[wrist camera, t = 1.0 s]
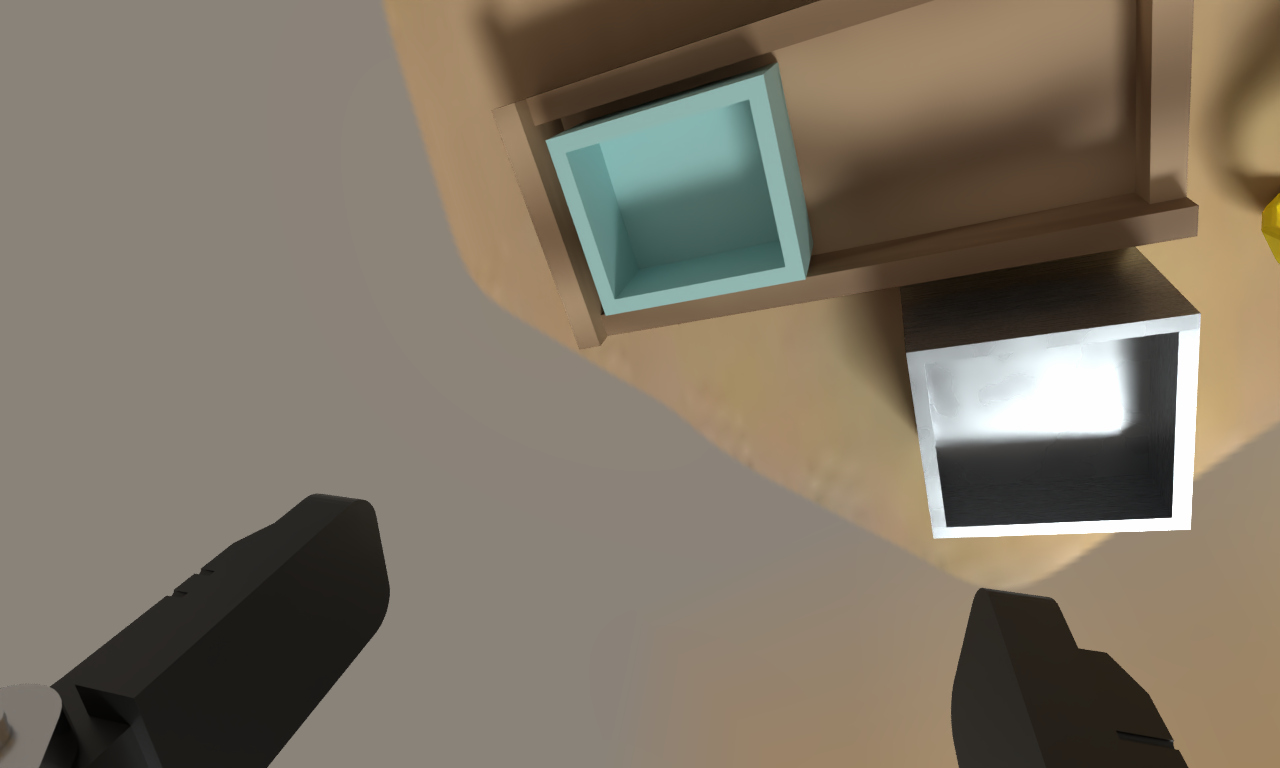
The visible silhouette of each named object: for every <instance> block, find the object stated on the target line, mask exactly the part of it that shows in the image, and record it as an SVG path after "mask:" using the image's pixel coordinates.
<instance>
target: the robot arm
mask: <svg viewBox="0 0 1280 768" xmlns="http://www.w3.org/2000/svg"><path fill="white" fill-rule="evenodd" d="M389 597H390V587H389V581H388V575H387V570H386V565H385V559H384V554H383V549H382V544H381V539H380V533H379V528H378V523H377V518H376V514H375V510H374V508H373V506H372V505H371V504H370V503H369V502H368V501H366V500H361V499H354V498H347V497H339V496H332V495H325V494H313V495H310V496H308V497H307V498H305V499H304V500H302V501H301V502H300V503H299V504H298V505H296V506H295V507H294V508H293V509H291V510H290V511H289V512H288V513H286V514H285V515H284V516H283V517H281V518H280V519H279V520H278V521H276V522H275V523H273V524H271V525H269V526H267V527H265V528H264V529H261V530H259V531H257V532H255V533H253V534H251V535H249V536H247V537H245V538H243V539H241V540H239V541H237V542H235V543H233V544H232V545H230V546H229V547H228V548H227V549H225V550H224V551H223V552H222V553H220V554H219V555H218V556H216V557H215V558H214V559H213V560H212V561H210V562H209V563H208V564H206V565H205V566H204V567H203V568H201V572H200V574H194V575H192V576H191V577H190V578H188V579H187V580H186V581H185V582H183V583H182V584H181V585H180V586H178V587H177V588H176V589H175V590H174V593H173V595H172V596H166V597H164V598H163V599H162V600H161V601H159V602H158V603H157V604H155V605H154V606H153V607H152V608H150V609H149V610H148V611H146V612H145V613H144V614H143V615H141V616H140V617H139V618H138V619H136V620H135V621H134V622H133V623H131V624H130V625H129V626H127V627H126V628H125V629H124V630H122V631H121V632H120V633H118V634H117V635H116V636H115V637H113V638H112V639H111V640H110V641H108V642H107V643H106V644H104V645H103V646H102V647H101V648H99V649H98V650H97V651H96V652H94V653H93V654H92V655H90V656H89V657H88V658H87V659H85V660H84V661H83V662H81V663H80V664H79V665H78V666H76V667H75V668H74V669H73V670H71V671H70V672H69V673H68V674H66V675H65V676H64V677H62V678H61V679H60V680H58V681H57V682H56V683H54V684H53V685H52V686H50V687H48V686H45V685H40V684H19V685H12V686H7V687H3V688H0V768H267V767H268V766H269V764H270V763H271V762H272V761H273V760H274V758H275V757H276V756H277V755H278V753H279V752H280V751H281V750H282V748H283V747H284V746H285V745H286V743H287V742H288V741H289V740H290V739H291V737H292V736H293V735H294V734H295V732H296V731H297V730H298V729H299V727H300V726H301V725H302V724H303V722H304V721H305V720H306V719H307V717H308V716H309V715H310V714H311V712H312V711H313V710H314V709H315V708H316V706H317V705H318V704H319V702H320V701H321V700H322V699H323V698H324V696H325V695H326V694H327V693H328V691H329V690H330V689H331V688H332V686H333V685H334V684H335V683H336V681H337V680H338V679H339V678H340V676H341V675H342V674H343V673H344V672H345V670H346V669H347V668H348V667H349V665H350V664H351V663H352V662H353V660H354V659H355V658H356V657H357V656H358V654H359V653H360V652H361V650H362V649H363V648H364V647H365V646H366V644H367V643H368V642H369V641H370V639H371V638H372V637H373V636H374V634H375V633H376V632H377V630H378V629H379V627H380V626H381V624H382V622H383V620H384V617H385V614H386V612H387V608H388V603H389ZM951 719H952V720H951V721H952V733H953V740H954V746H955V750H956V755H957V760H958V765H959V768H1188V766H1187V764H1186V762H1185V761H1184V759H1183V757H1182V755H1181V753H1180V751H1179V750H1175V749H1174V746H1173V741H1174V740H1173V738H1172V736H1171V735H1170V733H1169V731H1168V729H1167V727H1166V725H1165V723H1164V722H1163V720H1162V718H1161V716H1160V714H1159V713H1158V711H1157V709H1156V707H1155V705H1154V703H1153V701H1152V699H1151V698H1150V696H1149V694H1148V693H1147V692H1146V691H1145V690H1144V689H1143V688H1142V687H1141V686H1140V685H1139V684H1138V683H1137V682H1136V681H1135V680H1134V679H1133V678H1132V677H1131V676H1130V675H1129V674H1128V673H1127V672H1126V671H1125V670H1124V669H1123V668H1121V666H1119V664H1117V662H1116V661H1114V660H1113V659H1112V658H1111V657H1110V656H1109V655H1108V654H1107V653H1104V652H1098V651H1091V650H1085V649H1078V647H1077V645H1076V642H1075V640H1074V638H1073V636H1072V634H1071V632H1070V630H1069V627H1068V625H1067V623H1066V621H1065V618H1064V617H1063V614H1062V612H1061V610H1060V608H1059V606H1058V604H1057V603H1056V601H1055V600H1054V599H1052V598H1049V597H1043V596H1036V595H1028V594H1022V593H1014V592H1007V591H1000V590H993V589H986V588H980V589H979V590H978V591H977V593H976V594H975V597H974V600H973V604H972V607H971V612H970V616H969V620H968V624H967V628H966V633H965V637H964V641H963V646H962V650H961V654H960V658H959V662H958V666H957V671H956V675H955V679H954V684H953V691H952V701H951Z"/></svg>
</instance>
